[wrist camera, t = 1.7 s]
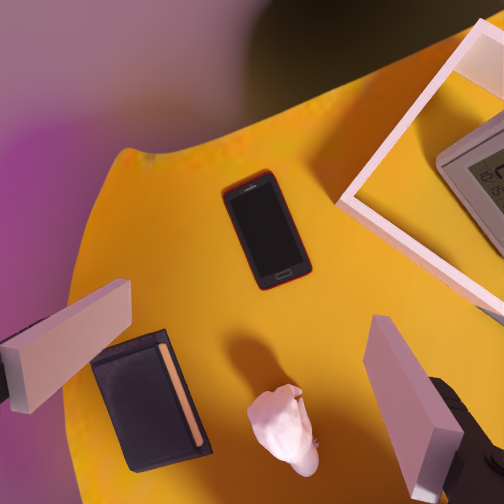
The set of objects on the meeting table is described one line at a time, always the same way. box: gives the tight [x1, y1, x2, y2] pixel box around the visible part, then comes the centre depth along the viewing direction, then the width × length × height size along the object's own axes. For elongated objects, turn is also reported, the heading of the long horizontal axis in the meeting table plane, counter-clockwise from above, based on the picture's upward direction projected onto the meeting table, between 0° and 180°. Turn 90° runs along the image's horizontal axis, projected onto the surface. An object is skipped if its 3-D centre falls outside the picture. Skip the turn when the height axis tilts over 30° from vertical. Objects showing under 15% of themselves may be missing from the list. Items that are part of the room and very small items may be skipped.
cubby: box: [335, 18, 504, 317], centre depth 30 cm, size 20×21×6 cm
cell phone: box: [223, 172, 312, 290], centre depth 38 cm, size 8×15×1 cm, turn 23°
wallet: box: [90, 329, 213, 473], centre depth 43 cm, size 20×2×15 cm
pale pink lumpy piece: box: [247, 384, 320, 477], centre depth 35 cm, size 6×8×12 cm
